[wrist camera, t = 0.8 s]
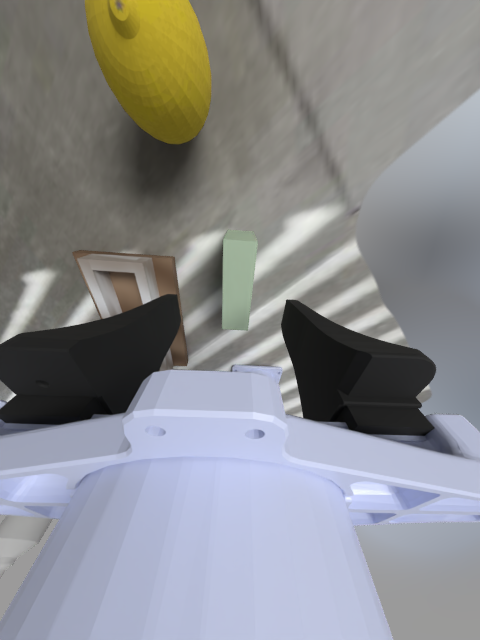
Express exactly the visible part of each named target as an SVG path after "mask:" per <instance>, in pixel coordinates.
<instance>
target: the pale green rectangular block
mask: <svg viewBox="0 0 480 640" xmlns="http://www.w3.org/2000/svg"><path fill="white" fill-rule="evenodd" d="M257 244H258V241H257V239H256V237H255V235H254V233H253V232H251V231H238V230H228V231H227V233H226V235H225V237H224V239H223V296H222V329H230V330H247V331H248V324H249V315H250V307H251V298H252V289H253V280H254V271H255V262H256V253H257Z"/></svg>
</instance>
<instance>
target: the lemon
mask: <svg viewBox="0 0 480 640" xmlns="http://www.w3.org/2000/svg"><path fill="white" fill-rule="evenodd" d="M85 10H86V17H87V24H88V31H89V36H90V39H91V42H92V46H93V49H94V53H95V56H96V59H97V61H98V63H99V66H100V68H101V70H102V72H103V75H104V77H105V79H106V81H107V83H108V85H109V87H110V88H111V90H112V91H113V93H114V95H115V96H116V98H117V99H118V101H119V103H120V104H121V106H122V107H123V109H124V110H125V111H126V112H127V114H128V115H129V116H130V117H131V118H132V119H133V120H134V121H135V122H136V124H137V125H138V126H139V127H140V128H141V129H143V130H144V131H146V132H147V133H148V134H150V135H151V136H152V137H154V138H155V139H158V140H160V141H163V142H165V143H168V144H182V143H185V142H188V141H190V140H191V139H193V138H194V137H195V136H197V134H198V133H199V132H200V130H201V129H202V127H203V126H204V123H205V121H206V118H207V115H208V112H209V106H210V101H211V71H210V65H209V58H208V52H207V48H206V44H205V41H204V38H203V35H202V32H201V28H200V25H199V22H198V19H197V17H196V15H195V13H194V11H193V9H192V7H191V5H190V3H189V1H188V0H85Z"/></svg>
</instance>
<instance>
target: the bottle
mask: <svg viewBox="0 0 480 640" xmlns="http://www.w3.org/2000/svg"><path fill="white" fill-rule="evenodd" d="M51 521H52V519H49V518H37V517H24V516H12V515H7V516H6V518H5V519H4V520H3V521H2V523H1V524H0V578H1V577H2V575H3V573H4V572H5V570H6V569H7V568H8V567H10V566H11V565H13V564H14V562H15V561H16V559H17V558H18V557H20V556H21V555H22V554H24V553H25V552H27V551H28V550H30V549H31V548H32V547H34V546H35V545H37V544H38V543H39V542H40V540H41V538H42V536H43V535H44V533H45V531H46V529H47V528H48V526H49V524H50V523H51Z"/></svg>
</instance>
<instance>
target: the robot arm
mask: <svg viewBox="0 0 480 640" xmlns="http://www.w3.org/2000/svg"><path fill="white" fill-rule="evenodd" d="M180 324H181V315H180V309H179V302H178V296H177V294H166V295H163V296H161V297H158V298H156V299H154V300H152V301H150V302H147V303H145V304H143V305H141V306H138V307H136V308H134V309H131V310H129V311H126V312H123V313H121V314H117V315H114V316H111V317H108V318H104V319H100V320H96V321H93V322H89V323H84V324H79V325H74V326H69V327H63V328H57V329H50V330H43V331H35V332H27V333H21V334H18V335H16V336H14V337H12V338H11V339H9V340H7V341H5V342H4V343H2V344H0V380H1V381H2V382H3V383H4V384H5V385H6V386H7V387H9V388H10V389H11V390H12V391H13V392H14V393H15V394H16V396H15V397H14V398H12V399H11V400H10V401H9V402H6V401H3V400H0V515H12V516H24V517H37V518H49V519H59V521H58V523H57V524H56V526H55V528H54V529H53V531H52V533H51V535H50V536H49V538H48V540H47V542H46V543H45V545H44V547H43V548H42V550H41V552H40V554H39V556H38V557H37V559H36V561H35V562H34V564H33V566H32V567H31V569H30V571H29V573H28V574H27V576H26V578H25V580H24V581H23V583H22V585H21V586H20V588H19V590H18V592H17V593H16V595H15V597H14V599H13V600H12V602H11V604H10V606H9V607H8V609H7V611H6V612H5V614H4V616H3V617H2V619H1V621H0V640H393V637H392V634H391V632H390V629H389V626H388V623H387V620H386V617H385V615H384V611H383V609H382V606H381V603H380V600H379V597H378V594H377V591H376V589H375V586H374V583H373V580H372V577H371V575H370V571H369V569H368V566H367V563H366V560H365V557H364V554H363V551H362V549H361V546H360V543H359V540H358V537H357V534H356V532H355V529H354V526H359V525H380V524H401V523H428V522H480V432H479V431H478V430H477V429H476V428H475V427H474V426H473V425H471V424H470V422H468V421H467V420H466V419H465V418H464V417H463V416H462V415H458V414H430V415H427V416H424V415H423V414H422V413H421V412H420V410H419V409H418V408H421V407H422V404H421V403H420V402H419V401H418V400H417V398H416V396H417V395H418V394H419V393H420V392H421V391H422V390H423V389H424V388H425V387H426V386H427V385H428V384H429V383H430V382H431V380H432V379H433V378H434V375H435V372H436V366H435V364H434V363H433V361H432V360H430V359H429V358H428V357H427V356H426V355H424V354H423V353H422V352H421V351H419V350H417V349H413V348H409V347H405V346H401V345H396V344H392V343H388V342H385V341H381V340H378V339H375V338H371V337H368V336H365V335H363V334H360V333H357V332H354V331H352V330H349V329H347V328H345V327H343V326H340V325H338V324H336V323H334V322H332V321H330V320H328V319H327V318H325V317H323V316H321V315H320V314H318V313H316V312H315V311H313V310H312V309H310V308H309V307H307V306H305V305H304V304H302V303H301V302H299V301H297V300H286V305H285V309H284V314H283V319H282V323H281V327H282V333H283V338H284V341H285V344H286V347H287V349H288V352H289V355H290V358H291V361H292V364H293V367H294V371H295V375H296V380H297V384H298V389H299V394H300V400H301V406H302V412H303V418H301V417H297V416H293V415H289V414H285V411H284V406H283V401H282V397H281V392H280V387H279V385H278V384H279V381H280V377H281V374H282V368H281V367H267V366H247V365H233V367H232V372H229V371H203V370H177V369H172V370H165V371H159V370H160V367H161V365H162V362H163V360H164V358H165V356H166V354H167V352H168V350H169V348H170V347H171V345H172V343H173V341H174V339H175V337H176V335H177V333H178V330H179V327H180Z"/></svg>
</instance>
